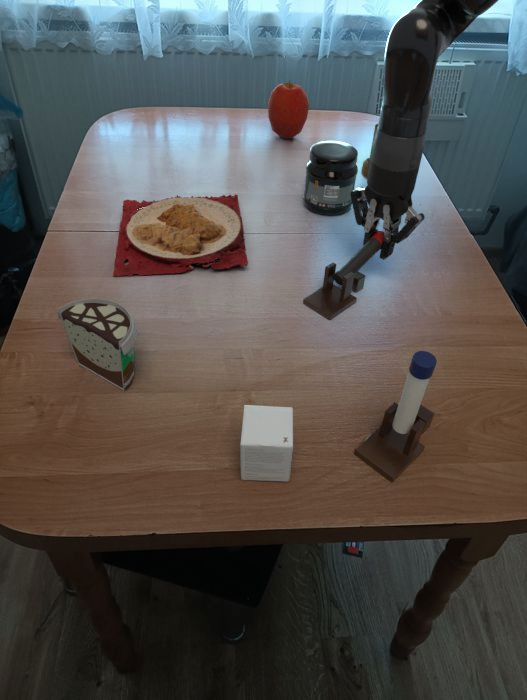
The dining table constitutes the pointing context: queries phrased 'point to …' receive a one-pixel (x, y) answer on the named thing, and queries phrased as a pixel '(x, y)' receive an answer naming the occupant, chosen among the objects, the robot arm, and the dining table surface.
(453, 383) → the dining table surface
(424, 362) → the white marker
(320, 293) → the black marker stand
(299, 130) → the apple
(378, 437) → the white marker stand
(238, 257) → the plate with food
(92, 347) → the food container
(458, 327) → the dining table surface
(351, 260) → the black marker
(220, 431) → the dining table surface
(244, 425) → the product box
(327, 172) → the supplement container
